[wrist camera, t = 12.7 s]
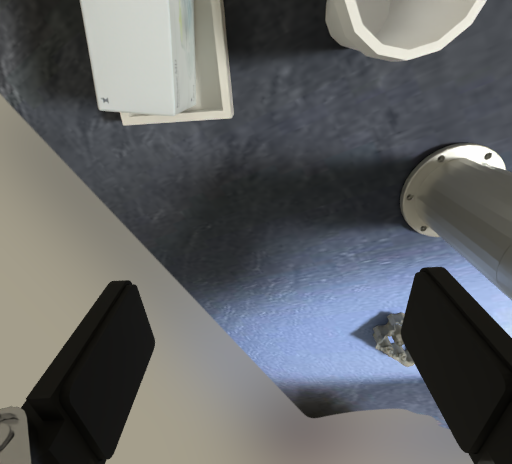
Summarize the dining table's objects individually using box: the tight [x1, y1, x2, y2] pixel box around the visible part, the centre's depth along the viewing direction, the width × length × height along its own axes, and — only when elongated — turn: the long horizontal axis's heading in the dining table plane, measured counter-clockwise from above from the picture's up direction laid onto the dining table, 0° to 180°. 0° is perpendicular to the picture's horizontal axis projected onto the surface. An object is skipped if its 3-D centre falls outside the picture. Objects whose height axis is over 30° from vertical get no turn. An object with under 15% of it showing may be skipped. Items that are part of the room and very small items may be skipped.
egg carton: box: [373, 313, 415, 367], centre depth 49 cm, size 11×8×4 cm
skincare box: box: [80, 0, 196, 116], centre depth 25 cm, size 10×6×10 cm, turn 176°
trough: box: [120, 0, 234, 125], centre depth 28 cm, size 12×16×4 cm
